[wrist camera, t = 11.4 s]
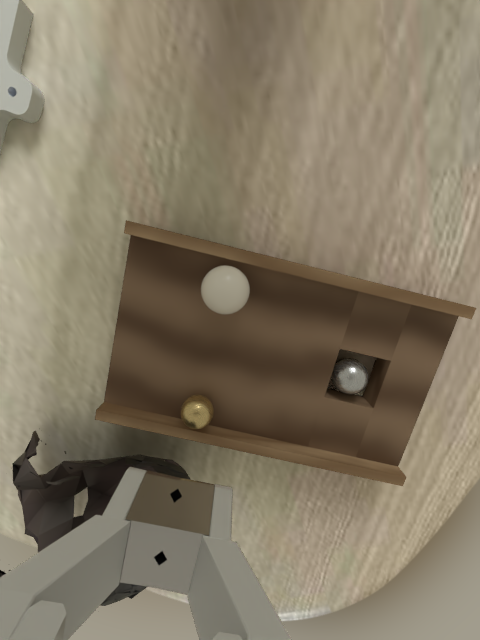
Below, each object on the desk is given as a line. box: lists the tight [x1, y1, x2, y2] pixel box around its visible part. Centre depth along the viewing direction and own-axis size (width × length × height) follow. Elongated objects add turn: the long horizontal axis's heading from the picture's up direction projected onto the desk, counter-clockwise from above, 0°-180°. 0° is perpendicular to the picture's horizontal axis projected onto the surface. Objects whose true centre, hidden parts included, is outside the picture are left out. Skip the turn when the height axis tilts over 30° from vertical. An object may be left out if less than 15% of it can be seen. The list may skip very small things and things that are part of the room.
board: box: [95, 221, 476, 486], centre depth 28 cm, size 18×30×4 cm, turn 76°
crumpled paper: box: [0, 428, 191, 606], centre depth 26 cm, size 14×15×20 cm
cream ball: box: [201, 265, 250, 314], centre depth 24 cm, size 4×4×4 cm
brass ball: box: [181, 395, 214, 429], centre depth 27 cm, size 3×3×3 cm
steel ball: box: [331, 359, 368, 394], centre depth 28 cm, size 3×3×3 cm
